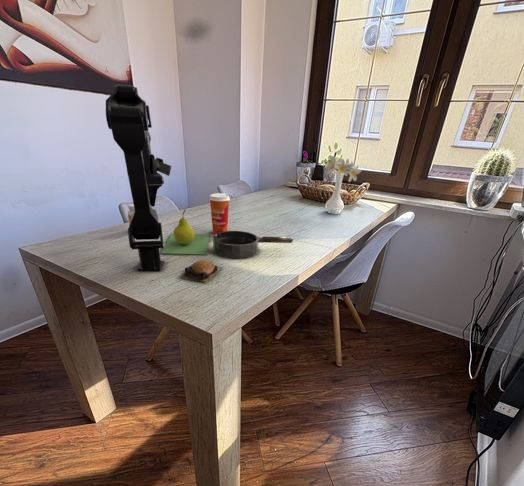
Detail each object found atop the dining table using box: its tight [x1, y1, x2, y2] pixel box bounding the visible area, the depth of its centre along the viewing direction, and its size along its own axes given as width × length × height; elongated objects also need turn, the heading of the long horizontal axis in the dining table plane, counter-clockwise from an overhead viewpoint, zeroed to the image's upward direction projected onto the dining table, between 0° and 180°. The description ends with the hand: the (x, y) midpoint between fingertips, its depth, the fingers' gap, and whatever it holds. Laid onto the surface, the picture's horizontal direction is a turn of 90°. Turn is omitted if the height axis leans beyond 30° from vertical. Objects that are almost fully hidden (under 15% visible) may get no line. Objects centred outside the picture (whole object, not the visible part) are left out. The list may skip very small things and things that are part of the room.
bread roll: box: [181, 259, 221, 283], centre depth 89 cm, size 11×8×4 cm
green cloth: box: [160, 233, 210, 256], centre depth 109 cm, size 20×14×1 cm
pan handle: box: [256, 236, 294, 244], centre depth 105 cm, size 13×2×2 cm, turn 94°
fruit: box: [173, 209, 195, 245], centre depth 105 cm, size 7×7×12 cm
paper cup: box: [208, 192, 231, 235], centre depth 118 cm, size 8×8×14 cm
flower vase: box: [324, 156, 362, 215], centre depth 152 cm, size 13×18×25 cm
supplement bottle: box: [127, 203, 134, 224], centre depth 115 cm, size 5×5×10 cm
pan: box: [212, 230, 259, 259], centre depth 105 cm, size 15×15×4 cm
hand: (148, 203), depth 102 cm, fingers open, 9 cm apart
